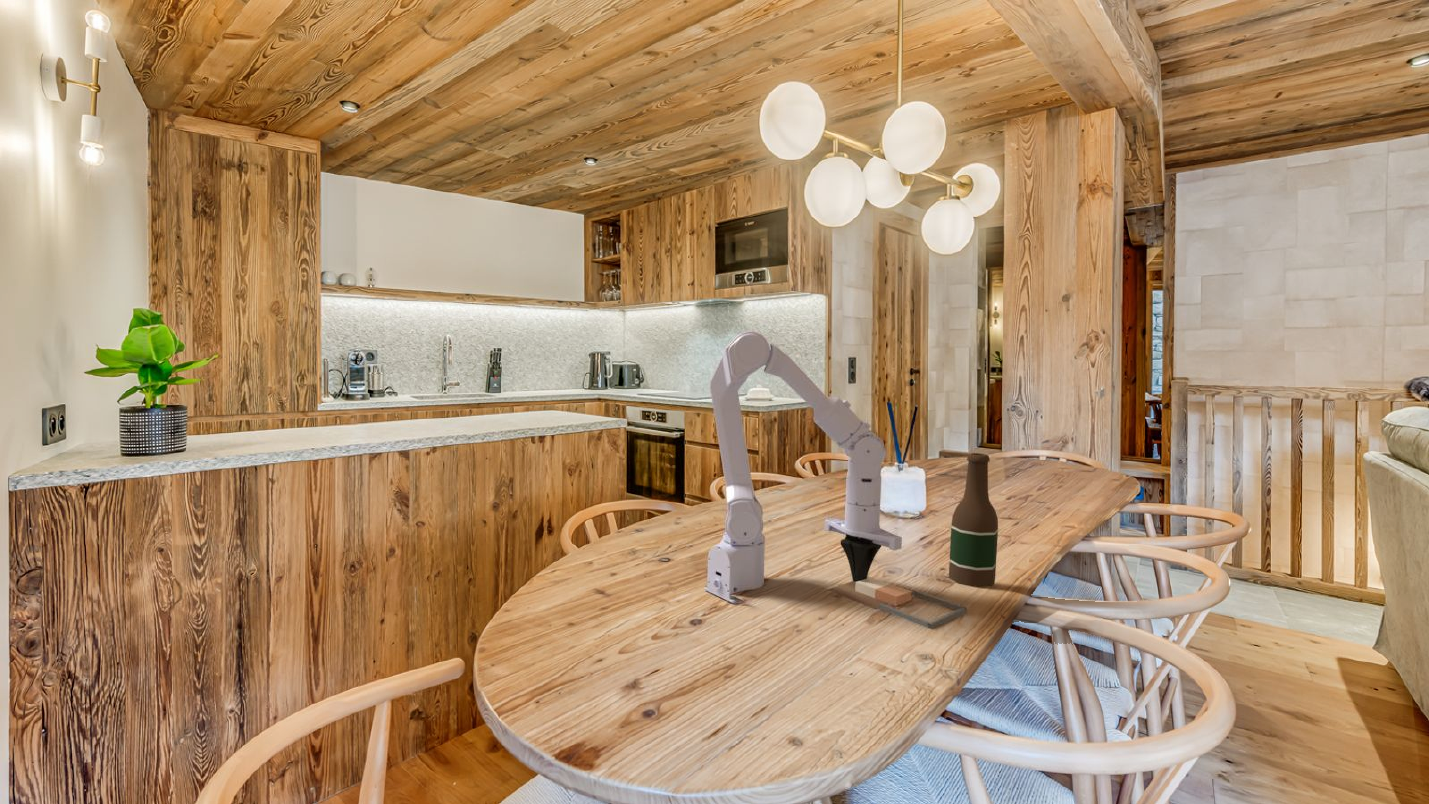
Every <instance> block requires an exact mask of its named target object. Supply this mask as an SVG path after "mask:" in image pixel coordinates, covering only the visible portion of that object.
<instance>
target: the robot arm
mask: <svg viewBox="0 0 1429 804" xmlns="http://www.w3.org/2000/svg"><path fill="white" fill-rule="evenodd" d="M764 366H765V368H764V369H763V372H764V373H765V374H768V375H772V376H775V377H778V378H781V380H783V382H784V383H786V385H787V386H789V387H790V388H791V389H792V390H793V391H794V392H795V393H796V394H797V395H798V396H799V397H800V398H801V399H803V401H804V402H805V403H807V404H808V405H809V406H810V407H811V408H812V410H813V422H814V423H815V424H816V425H817V426H818V428H819V429H821V430H822V431H823V432H824V433H825V434H826V435H827V436H828V437H829V438H830V439H831V440H832V441H833V442H834V444H835V445H837V446H838V447H839V448H843V449H844V453H845V454H846V456H847V457H848V458H849V459H847V473H846V477H845V478H846V481H845V507H844V509H845V510H844V519H837V518H834V517H831V518H826V519H825V520H824V531H827V532H834V533H837V534H838V533H839V534H840V535H841V534H842V535H844V536H845V537H844V538H843V539H841V540H840V546H841V547H842V550H843V551H844V554H845V556H846V558H847V561H848V564H849V568H850V573H851V577H852V581H854V582H858V581H861V580H864V579H867V576H868V575H869V572H870V569H871V566H872V563H873V561H874V559H875V557H876V556H877V554H878V552H879V550H880V549H881V548H882V547H885V548H889V550H891V551H898V550H900V549H902V547H903V546H902V542H903V540H902V539H903V537H902V536H899V535H896V534H893V533H892V532H889V531H887V530H885V529H883V528H881V526H880V519H881V516H880V515H881V499H882V497H881V496H882V464H883V462H884V461H885V459H886V458H887V454H888V453H887V451H886V447H885V443H884V442H883V440H882V439H881V437H879V436H878V435H876V434H875V433H874V432H873V430H870V428H871V425H870V423H868V421H865V422H864V421H862V419H861V418H860V417H859V416H858V415H856V413H855V412H854V411H853V410H852V409H851V408H850V407H851V406H852V404H851V403H850V402H849V401H848V400H846V399H844V400H842V399H841V398H840V397H838V396H827V395H826V394H825V393H824V392H823V391H822V390H821V389H820V388H819V387H818V385H816V383H814V382H813V380H812V379H810V377H809V376H808V375H807V374H806V373H805V372H804V371H803V370H802V368H800V367H799V366H798V364H796V362H795V361H794V360H793V359H792V358H791V357H790V356H789V355H788V354H786V353H785V352H784V351H782V349H780V348H778V347H777V346H776V345H774V344H773V343H769V342H768V340H767V338H765V336H764V335H762V334H761V333H759V332H757V331H753V330H750V331H749V330H748V331H745V332H742V333H740V334H738V335H737V336H736V337H735V338H734V339H733V340H731V342H730V343H729V344H728V345H727V346H726V347H725V349H724V351H723V353H722V356H721V358H720V360H719V362H718V364H717V367H716V369H715V370H714V373H713V375H712V377H711V379H710V382H709V389H710V397H711V403H712V408H713V414H714V420H715V427H716V432H717V438H718V439H717V441H718V446H719V451H720V452H719V453H720V458H721V464H722V470H723V471H722V472H723V476H724V477H723V478H724V484H725V491H726V492H725V493H726V495H725V496H726V505H727V509H726V510H727V511H726V513H727V514H726V518H725V522H724V529H725V532H724V533H723V535H722V539H721V540H720V542H719V543H717V544H716V545H713V546H711V548H710V549H709V552H708V555H707V573H706V574H707V578H706V579H707V580H706V585H705V586H704V587H703V589H704V591H706V592H708V593H711V594H712V595H715V596H716V597H719V598H721V599H723V600H725V601H727V602H730V603H732V604H737V603H740V602H743V601H744V600H742V598H741V599H740V598H738V597H736V596H735V595H732V594H736V593H739V592H743V591H749V590H756V589H759V588H760V587H761V588H762V586H763V585H764V583H765V575H764V574H765V552H766V551H765V550H766V536H765V534H763V530H764V521H763V513H764V512H763V506H762V504H761V503H760V502H759V500H758V499H757V498H756V495H755V490H754V484H753V480H752V474H751V466H750V462H749V461H750V460H749V454H748V448H747V442H746V441H747V440H746V435H745V434H746V433H745V429H744V423H743V416H742V409H741V402H740V398H739V397H740V396H739V390H740V389H741V387H742V386H743V385H744V383H745V382H746V381H747V379H748V378H749V376H751V375H752V374H753V373H756V372H757V371H758V370H759V369H762V367H764Z"/></svg>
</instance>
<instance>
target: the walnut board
mask: <svg viewBox="0 0 1429 804" xmlns="http://www.w3.org/2000/svg"><path fill="white" fill-rule="evenodd" d="M870 577H871V576H868V575H867V578H870ZM855 585H856V582H854V581H853V580H852V581H849V582H846V583H843V584H840V585H837V586H834V587H830V588H828V589H826V591H828V592H831V593H833V594H836V595H839V596H842V597H844V598H847V599H849V600H852V601H854V602H857V603H859V604H860V605H861V604H862V605H864V606H867V607H870V608H872V609H874V610H877V609H879V604H884V605H889V603H886V602H884V601H881V600H878V599H876V598H873V597H870V596H868V595H865V594H862V593H860V592H857V591H855ZM913 595H914V591H911V596H913Z"/></svg>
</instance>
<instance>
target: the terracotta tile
mask: <svg viewBox="0 0 1429 804" xmlns="http://www.w3.org/2000/svg"><path fill="white" fill-rule="evenodd" d="M911 592H912V591H911V590H908V589H906V588H903V587H899V586H897V585H893V584H891V583H889V585H886V586H883V587H881V588H878V589H875V598H876V599H878V600H881V601H884V602H886V603H889V604H892V605H893V606H895V607H897V606H900V605H902V604H905V603H907V602H910V601H911V600H912V598H911ZM889 604H888V605H889Z"/></svg>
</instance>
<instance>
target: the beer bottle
mask: <svg viewBox="0 0 1429 804" xmlns="http://www.w3.org/2000/svg"><path fill="white" fill-rule="evenodd" d="M966 461H968V462H967V463H968V464H967V470H966V471H967V472H966V478H965V479H966V482H965V488H964V493H963V498H962V499H961V501H960V502H959V503H958V505H957V506H956V507H955V509H954V511H953V514H952V518H951V519H952V520H951V524H950V525H951V527H950V544H949V545H950V546H949V563H948V564H949V565H948V566H949V567H948V568H949V569H948V578H949V579H950V580H952V581H953V582H955V583H956V584H958V585H962V586H963V585H964V586H968V587H972V588H987V587H988V588H990V587H992V586H995V581H996V573H997V572H996V570H997V569H996V568H997V554H998V553H997V552H998V535H999V519H998V515H997V513H996V512H997V511H996V509H995V508H994V505H993V504H992V503H991V501H990V498H989V496H990V495H989V469H988V468H989V462H991V459H990V455H988V454H985V453H979V452H971V453H969V454H968V455H967V457H966Z"/></svg>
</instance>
